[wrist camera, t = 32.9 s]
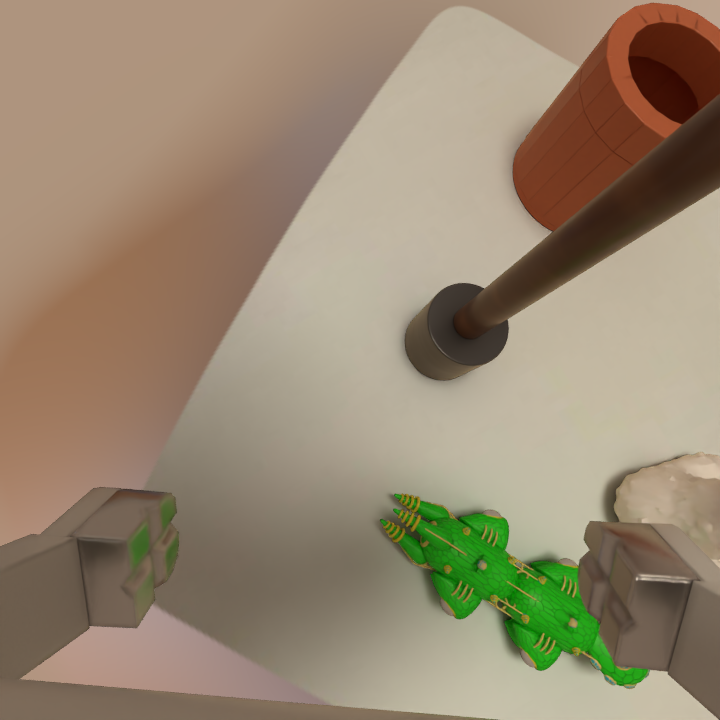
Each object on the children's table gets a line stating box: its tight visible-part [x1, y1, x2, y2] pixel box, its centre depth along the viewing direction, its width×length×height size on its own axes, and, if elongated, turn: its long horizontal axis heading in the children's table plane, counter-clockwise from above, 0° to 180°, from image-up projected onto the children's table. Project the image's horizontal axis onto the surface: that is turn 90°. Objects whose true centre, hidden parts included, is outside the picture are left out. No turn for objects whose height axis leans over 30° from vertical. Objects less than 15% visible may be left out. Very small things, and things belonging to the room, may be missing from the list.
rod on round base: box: [405, 94, 720, 380], centre depth 21 cm, size 5×5×24 cm
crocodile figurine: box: [380, 494, 650, 689], centre depth 28 cm, size 7×18×4 cm, turn 58°
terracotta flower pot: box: [513, 3, 720, 231], centre depth 33 cm, size 10×10×11 cm
